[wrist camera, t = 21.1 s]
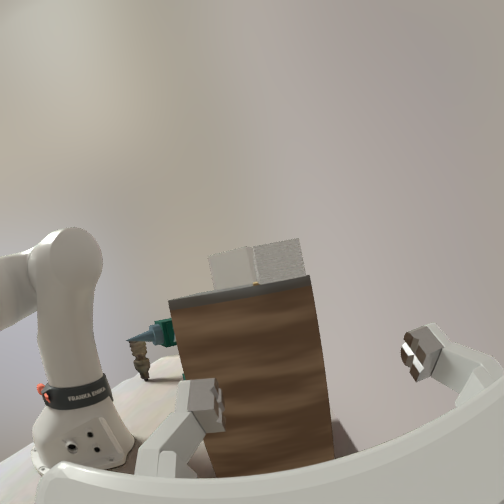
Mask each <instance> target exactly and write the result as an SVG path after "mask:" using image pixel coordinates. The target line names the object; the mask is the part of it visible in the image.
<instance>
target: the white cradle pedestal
mask: <svg viewBox="0 0 504 504" xmlns="http://www.w3.org/2000/svg"><path fill="white" fill-rule="evenodd" d="M208 260H209V265H210V270H211V275H212V280H213V285H214V290H220V289H225V288H231V287H237V286H242V285H248V284H253V282H257V281H256V276H255V271H254V265H253V248H251V247H242V248H238V249H234V250H230V251H226V252H222V253H218V254H214V255H210V256H208Z"/></svg>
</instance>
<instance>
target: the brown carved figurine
mask: <svg viewBox="0 0 504 504" xmlns="http://www.w3.org/2000/svg"><path fill="white" fill-rule="evenodd" d="M129 343H130V347H131V351H132V352H133V353H132V355H133V356H135V357H136V359H135V360H134V366H135V369H136V370H137V371H138V372H139V373H140V375H141V378H142V379H144V380H148V378H149V373H148V371H149V368H150V362H149V359H148V358H146V357H145V355H146V353H147V351H146V343H145V341H129Z"/></svg>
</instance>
